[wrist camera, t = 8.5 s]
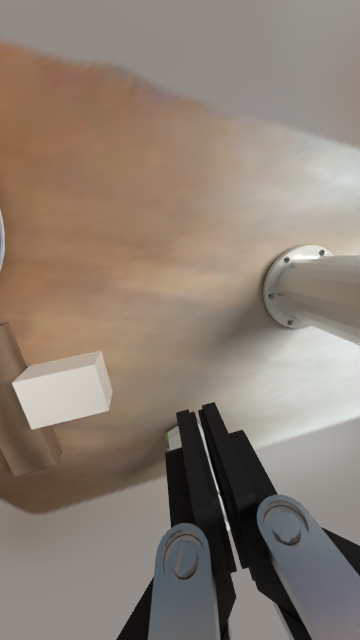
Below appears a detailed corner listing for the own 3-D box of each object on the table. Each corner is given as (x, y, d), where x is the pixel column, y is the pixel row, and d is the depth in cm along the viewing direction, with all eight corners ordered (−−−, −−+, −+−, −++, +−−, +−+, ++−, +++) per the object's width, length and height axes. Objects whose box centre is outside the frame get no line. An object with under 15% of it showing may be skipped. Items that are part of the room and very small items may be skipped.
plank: (8, 322, 32) (-3, 327, 29) (61, 452, 38) (56, 465, 35) (-40, 332, 31) (-55, 338, 29) (22, 462, 37) (14, 476, 35)
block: (101, 349, 35) (94, 364, 30) (112, 390, 37) (108, 410, 32) (30, 365, 34) (11, 382, 29) (46, 406, 36) (31, 429, 31)
